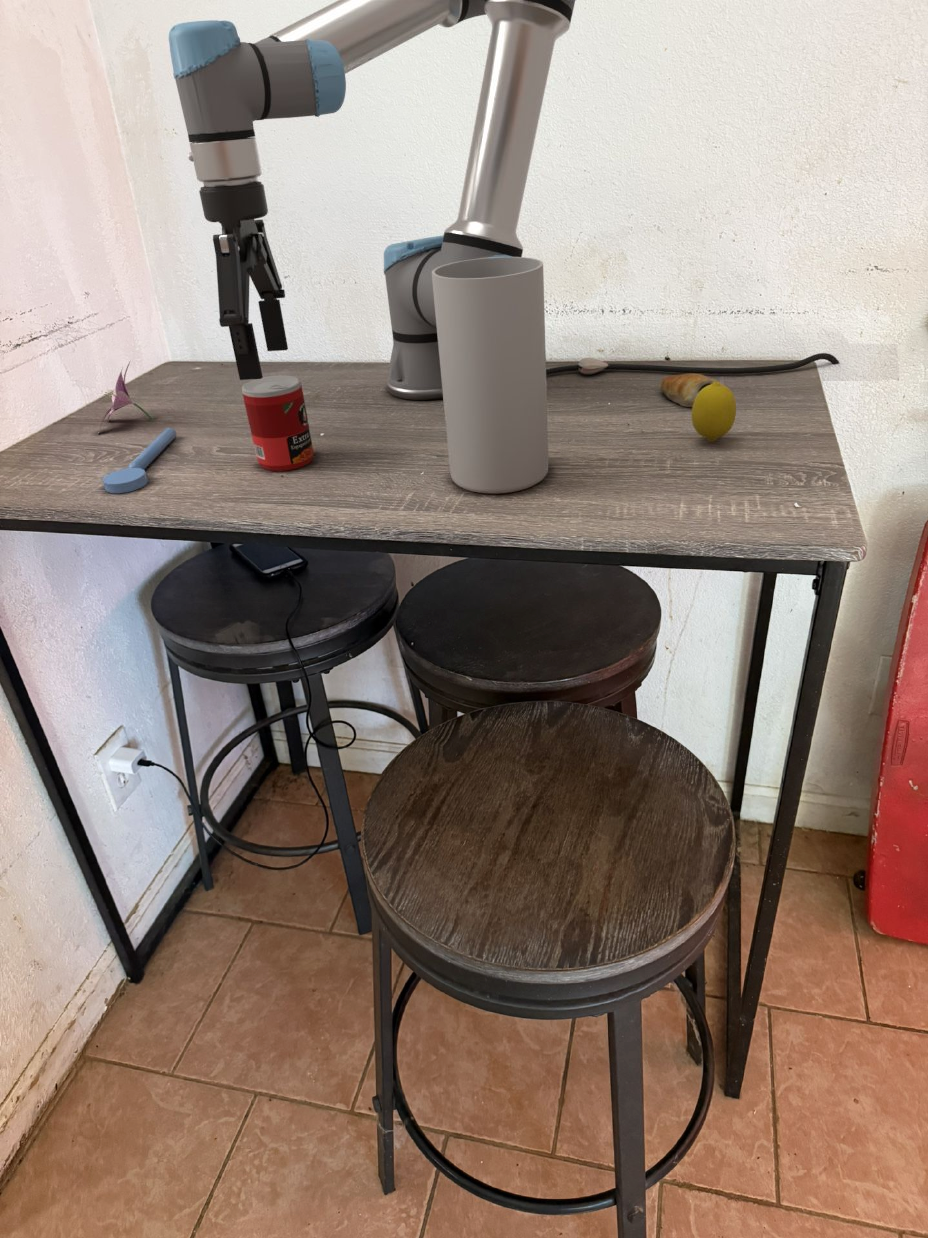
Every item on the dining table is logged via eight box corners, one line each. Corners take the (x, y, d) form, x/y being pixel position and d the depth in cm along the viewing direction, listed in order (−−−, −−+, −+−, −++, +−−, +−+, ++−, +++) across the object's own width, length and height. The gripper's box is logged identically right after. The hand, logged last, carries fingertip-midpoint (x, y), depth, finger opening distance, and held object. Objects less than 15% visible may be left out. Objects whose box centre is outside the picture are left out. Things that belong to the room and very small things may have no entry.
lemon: (734, 435, 113) (740, 375, 109) (731, 450, 109) (737, 389, 104) (692, 433, 115) (696, 374, 111) (687, 448, 110) (691, 387, 106)
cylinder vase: (518, 502, 100) (508, 280, 87) (432, 486, 106) (409, 277, 93) (565, 464, 109) (562, 257, 96) (482, 452, 115) (469, 255, 102)
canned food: (303, 472, 114) (288, 391, 108) (249, 471, 115) (231, 392, 110) (322, 451, 120) (309, 374, 114) (270, 451, 122) (254, 375, 116)
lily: (136, 413, 146) (92, 370, 140) (182, 388, 140) (139, 342, 134) (108, 458, 138) (60, 415, 132) (156, 434, 133) (108, 387, 127)
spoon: (156, 437, 131) (153, 426, 130) (191, 436, 130) (188, 424, 129) (98, 494, 113) (94, 482, 112) (138, 492, 112) (134, 479, 111)
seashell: (578, 370, 144) (578, 355, 142) (608, 368, 143) (608, 353, 142) (578, 377, 140) (578, 362, 139) (608, 376, 139) (608, 361, 138)
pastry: (648, 394, 130) (649, 369, 128) (682, 385, 132) (684, 361, 130) (689, 409, 123) (691, 383, 121) (725, 400, 125) (727, 374, 123)
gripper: (230, 175, 110) (261, 341, 121) (161, 195, 89) (207, 393, 100) (286, 170, 109) (313, 338, 121) (230, 190, 88) (269, 390, 99)
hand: (265, 363), depth 110 cm, fingers open, 13 cm apart
